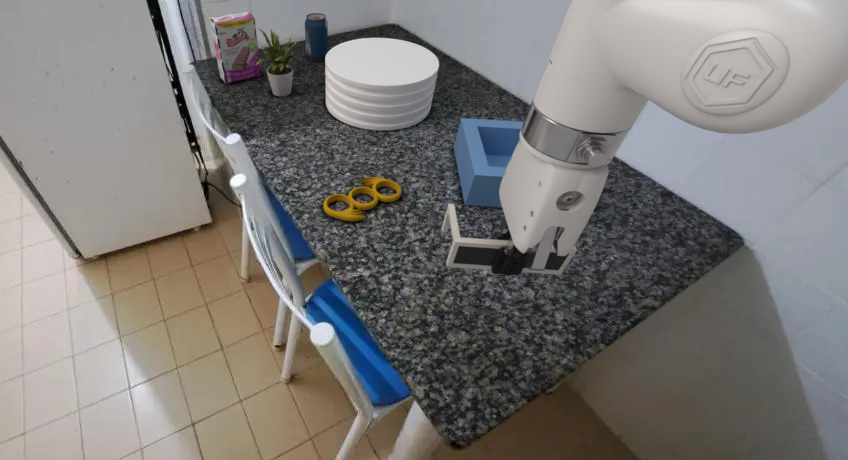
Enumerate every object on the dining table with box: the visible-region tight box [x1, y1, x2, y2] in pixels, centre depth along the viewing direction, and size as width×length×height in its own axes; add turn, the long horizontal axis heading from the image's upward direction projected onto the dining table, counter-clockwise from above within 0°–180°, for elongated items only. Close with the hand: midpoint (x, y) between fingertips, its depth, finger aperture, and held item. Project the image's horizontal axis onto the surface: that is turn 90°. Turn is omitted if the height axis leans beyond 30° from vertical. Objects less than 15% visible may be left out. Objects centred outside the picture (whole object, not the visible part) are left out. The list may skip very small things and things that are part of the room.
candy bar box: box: [208, 11, 262, 85], centre depth 108 cm, size 11×5×16 cm, turn 122°
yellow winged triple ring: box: [322, 176, 402, 222], centre depth 77 cm, size 17×2×10 cm
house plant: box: [250, 27, 305, 97], centre depth 102 cm, size 14×14×16 cm
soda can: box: [304, 12, 329, 62], centre depth 120 cm, size 7×7×12 cm
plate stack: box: [324, 37, 440, 131], centre depth 100 cm, size 28×28×12 cm
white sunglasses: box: [441, 203, 578, 276], centre depth 46 cm, size 6×13×4 cm, turn 85°
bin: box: [453, 117, 524, 209], centre depth 80 cm, size 20×20×8 cm
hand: (503, 266), depth 46 cm, fingers closed on white sunglasses, 1 cm apart
